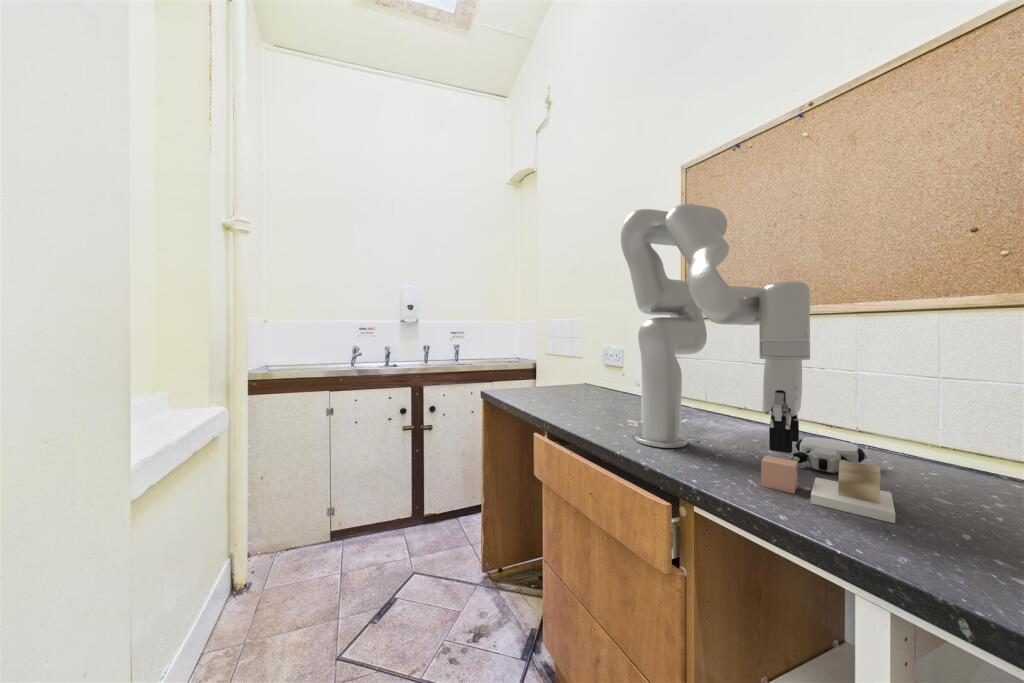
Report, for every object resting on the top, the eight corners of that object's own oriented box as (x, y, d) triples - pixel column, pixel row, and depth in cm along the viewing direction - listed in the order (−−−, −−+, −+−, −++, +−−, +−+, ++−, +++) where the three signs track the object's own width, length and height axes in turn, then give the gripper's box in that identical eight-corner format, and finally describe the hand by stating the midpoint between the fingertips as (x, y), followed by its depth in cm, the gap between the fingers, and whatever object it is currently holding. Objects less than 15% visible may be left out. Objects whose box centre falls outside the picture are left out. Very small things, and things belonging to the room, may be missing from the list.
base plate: (810, 503, 65) (810, 494, 65) (815, 485, 72) (815, 477, 72) (895, 523, 58) (895, 513, 58) (890, 501, 66) (891, 492, 66)
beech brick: (838, 494, 65) (839, 465, 65) (838, 487, 68) (839, 459, 68) (879, 503, 61) (880, 473, 61) (878, 495, 64) (879, 466, 64)
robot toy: (863, 488, 73) (867, 463, 84) (864, 465, 73) (868, 442, 84) (784, 471, 82) (797, 450, 93) (785, 450, 82) (797, 432, 92)
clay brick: (760, 486, 72) (761, 460, 72) (764, 480, 75) (765, 455, 75) (794, 494, 69) (794, 466, 69) (796, 487, 72) (797, 461, 72)
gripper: (767, 349, 80) (768, 433, 80) (750, 352, 67) (751, 452, 67) (814, 350, 75) (814, 439, 75) (805, 352, 62) (805, 461, 62)
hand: (784, 445), depth 71 cm, fingers open, 9 cm apart
